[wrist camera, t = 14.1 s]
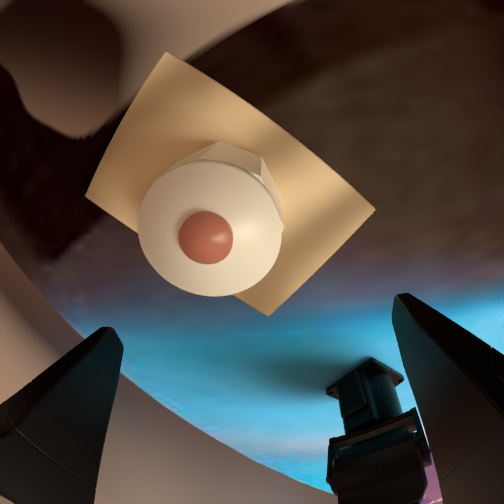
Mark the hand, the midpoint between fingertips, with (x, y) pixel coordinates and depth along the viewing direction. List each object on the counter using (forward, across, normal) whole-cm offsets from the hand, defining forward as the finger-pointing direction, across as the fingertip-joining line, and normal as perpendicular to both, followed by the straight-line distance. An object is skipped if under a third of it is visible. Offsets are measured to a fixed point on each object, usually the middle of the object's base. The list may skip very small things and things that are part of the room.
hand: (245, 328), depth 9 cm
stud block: (+12, +2, -1) cm, 12 cm away
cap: (+11, +2, -1) cm, 11 cm away
